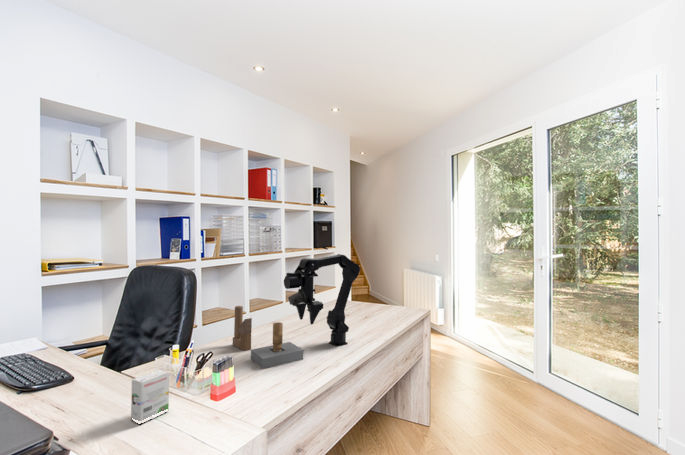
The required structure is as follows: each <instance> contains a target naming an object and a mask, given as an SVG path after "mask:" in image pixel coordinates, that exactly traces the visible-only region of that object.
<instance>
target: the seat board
mask: <svg viewBox="0 0 685 455" xmlns="http://www.w3.org/2000/svg"><path fill="white" fill-rule="evenodd" d="M250 360H251V361H252V362H253V363H255V365H257V366H258V367H260V369H262V370H264V369H268V368H273V367H278V366H281V365H285V364H289V363H294V362H298V361H302V360H304V349H303V348H301V347H299V346H298V345H296V344H294V343H293V342H291V341H287V342H282V351H280V352H276V353H274V351H273V344H272V345H267V346H262V347H258V348H253V349H252V348H251V349H250Z"/></svg>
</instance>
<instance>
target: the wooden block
mask: <svg viewBox="0 0 685 455" xmlns="http://www.w3.org/2000/svg"><path fill="white" fill-rule="evenodd" d="M243 312H244V307H243V306H242V305H236V306H234V325H233V326H234V327H233V328H234V329H233V335H234V336H233V337H232V346H233V347H235V348H237V349H240V350H242V351H243V352H246V351H251V350H252V326H253V323H252V319H253V318H252V317H249V318H245V319H244V320H243V317H244V316H243V314H244V313H243Z"/></svg>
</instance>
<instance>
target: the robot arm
mask: <svg viewBox="0 0 685 455" xmlns="http://www.w3.org/2000/svg"><path fill="white" fill-rule="evenodd" d="M334 265H338V266H339V268H341V269H342V271H341V272H342V273H341V274H342V283H341V285H340V288H339V292H338V294H337V295H338V296H337V298H336V302H335V305H334V308H333V309H332V310H328V312H327V316H326V323H327V326H328V327H329V329H330V330H331V334H330V341H329V344H331V345H334V346H335V347H340V346H344V345H348V342H347V340H346V339H347V337H346V336H347V334H346V333H348V332H349V328H350V327H349V326H348V324H346V323H345V322H346V314H345V309H346V307H347V303H348V300H349V297H350V293H351V289H352V286H353V282H354V281H355V280H356V279H357V278H358V276H359V275H360V272H361V267H360V265H359V264H358V263H355V262H354V261H353V260H352V259H350V258H348V256H346V255H345V254H340V253H338V254H335V255H331V256H325V257H320V258H302V259H300V261H299V264H298V265H297V267H296V269H295V270H294V271H293V272H286V275H285V276H284V279H283V285H284V288H285V289H286V290H288V289H289V290H290V289H298V290H297V292H296V293H293V294H292V295H290V296H288V297H287V299H288V302H289V305H291V306H292V307H296V310H297V314H298V317H299V320H303V319H304V316H305V312H306V311H307V312H308V313H309V323H310V325H314V322H315V321H316V319H317V317H318V315H319V314H320V312H321V311H322V310H323V309H324V303H323V302H321V301H319V300H316V298H314V293H315V292H316V288H315V289H314V285H315V284H314V282H315V281H314V279H315V277H319V275H318V273H317V272H315V271H318V270H319V269H320V268H323V267H329V266H334ZM306 308H307V309H306Z"/></svg>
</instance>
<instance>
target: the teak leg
mask: <svg viewBox="0 0 685 455" xmlns="http://www.w3.org/2000/svg"><path fill="white" fill-rule="evenodd" d="M283 327H284V323H283V322H273V323H272V345H273V351H274V353H276V352H280V351H282V343H283V331H284V329H283Z"/></svg>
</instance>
